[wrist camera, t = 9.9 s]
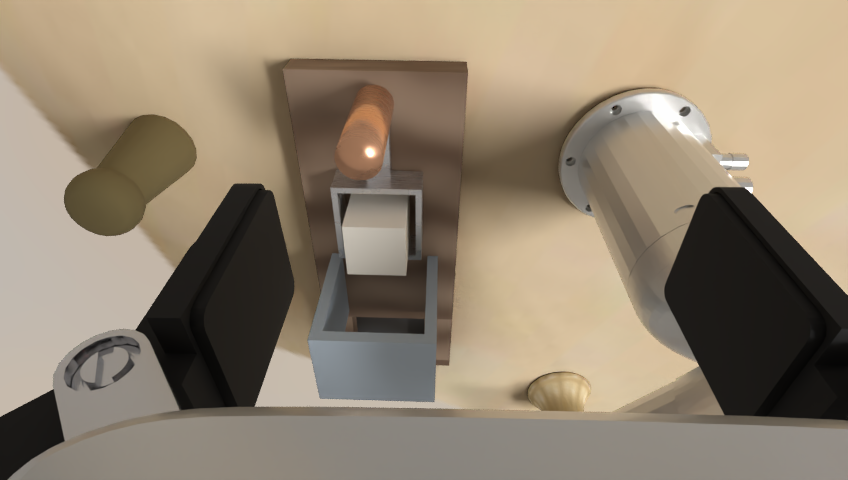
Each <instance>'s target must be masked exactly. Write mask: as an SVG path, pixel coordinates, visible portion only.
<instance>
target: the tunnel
mask: <svg viewBox="0 0 848 480" xmlns="http://www.w3.org/2000/svg"><path fill="white" fill-rule="evenodd" d="M437 271H438V256H427V282H426V308H425V334H403V333H369V332H345V329H346V324H347V319H348V314H349V304H348V295H347V287H346V279H345V271H344V263H343V258H339V254H337V253H332V256H331V259H330V263H329V266H328V270H327V273H326V277H325V280H324V284H323V287H322V291H321V295H320V298H319V302H318V305H317V309H316V312H315V316H314V319H313V323H312V326H311V330H310V333H309V337H308V345H309V350H310V354H311V359H312V364H313V368H314V373H315V377H316V383H317V387H318V392H319V397H320V398H322V399H353V400H385V401H416V402H434V400H435V373H436V346H437Z"/></svg>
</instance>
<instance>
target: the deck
mask: <svg viewBox="0 0 848 480" xmlns="http://www.w3.org/2000/svg"><path fill="white" fill-rule="evenodd" d="M283 75H284V81H285V86H286V92H287V98H288V104H289V110H290V116H291V121H292V127H293V133H294V139H295V145H296V151H297V156H298V162H299V168H300V174H301V180H302V186H303V192H304V197H305V203H306V209H307V215H308V221H309V227H310V232H311V238H312V244H313V250H314V256H315V262H316V267H317V273H318V279H319V285H320V291H322V287H323V284H324V280H325V277H326V273H327V270H328V266H329V263H330V259H331V256H332V253H337V254H339V251H338V243H337V236H336V228H335V220H334V212H333V205H332V197H331V189H330V187H331V184H332V181H333V179H334V176H335V173H336V170H337V169H338V167H337V166H336V163H335V159H334V154H335V150H336V147H337V145H338V142H339V139H340V137H341V134H342V131H343V129H344V126H345V123H346V121H347V118H348V115H349V113H350V110H351V107H352V105H353V102H354V99H355V97H356V94H357V93H358V91H359V90H360V89H361V88H363V87H364V86H367V85H379V86H382V87H384V88H385V89H387V90H388V91H389V92H390V94H391V95H392V97H393V100H394V110H393V115H392V120H391V125H390V145H391V171H423V235H422V257H421V260H408V261H407V272H406V276H396V275H359V274H347V266H346V258H343V263H344V271H345V279H346V287H347V295H348V304H349V314H348V319H347V324H346V329H345V332H369V333H403V334H425V308H426V282H427V256H438V271H437V346H436V365H449V359H450V343H451V327H452V312H453V296H454V281H455V265H456V249H457V234H458V218H459V203H460V187H461V171H462V156H463V140H464V125H465V109H466V94H467V78H468V70H467V62H440V61H385V60H331V59H290V60H289V62H288V63H287V64H286V66H285V67H284V68H283ZM350 196H351V194H350V193H345V197H346V206H347V207H348V203H349V199H350ZM409 196H410V235H416V195H409Z"/></svg>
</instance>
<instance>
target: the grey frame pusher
mask: <svg viewBox="0 0 848 480" xmlns="http://www.w3.org/2000/svg"><path fill="white" fill-rule="evenodd" d="M393 110H394V100H393V97H392V95H391V94H390V92H389V91H388V90H387V89H385V88H384V87H382V86H379V85H367V86H364V87H363V88H361V89H360V90H359V91H358V93H357V94H356V97H355V99H354V102H353V105H352V107H351V110H350V113H349V115H348V118H347V121H346V123H345V126H344V129H343V131H342V134H341V137H340V139H339V142H338V145H337V147H336V150H335V154H334V159H335V163H336V166H337V167H338V169H337V170H336V173H335V176H334V179H333V181H332V184H331V187H330V189H331V197H332V205H333V212H334V220H335V228H336V236H337V243H338V251H339V258H346V257H345V249H344V241H343V232H342V225H343V221H344V217H345V214H346V210H347V206H346V197H345V193H350V194H392V195H416V235H410V238H409V249H408V260H421V257H422V235H423V171H391V145H390V125H391V120H392V115H393Z"/></svg>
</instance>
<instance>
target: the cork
mask: <svg viewBox="0 0 848 480" xmlns="http://www.w3.org/2000/svg"><path fill="white" fill-rule="evenodd" d="M196 158H197V157H196V148H195V145H194V143H193V140H192V139H191V137H190V136H189V135H188V133H187V132H186V131H185V130H184V129H183V128H182V127H180V126H179V125H178V124H177V123H175V122H173V121H171V120H169V119H167V118H165V117H162V116H157V115H143V116H140V117H138V118H136V119H134V120H133V122H132V123H131V124H130V125H129V127H128V128H127V129H126V130H125V132H124V133H123V134H122V136H121V137H120V138H119V140H118V141H117V142H116V144H115V145H114V146H113V148H112V149H111V150H110V152H109V153H108V154H107V156H106V157H105V158H104V159H103V161H102V162H101V163H100V165H99V166H98V167H97V169H90V170H88V171H85V172H83V173H81V174H79V175H77V176H76V177H75V178H73V180H72V181H71V182H70V183H69V185H68V186H67V188H66V190H65V195H64V203H65V207H66V210H67V212H68V214H69V215H70V217H71V218H72V219H73V220H74V221H75V222H76V223H77V224H78V225H80V226H81V227H83V228H85V229H86V230H88V231H90V232H93V233H95V234H98V235H104V236H116V235H121V234H124V233H126V232H128V231H130V230H132V229H133V228H134V227H135V226H136V225H137V224H138V223H139V222H140V221H141V220H142V218H143V215H144V212H145V208H146V204H147V203H149V202H150V201H151V200H152V199H154V198H155V197H156V196H157V195H159V194H160V193H161V192H163V191H164V190H165V189H166V188H168V187H169V186H170V185H171V184H173V183H174V182H175V181H177V180H178V179H179V178H180V177H182V176H183V175H184V174H185V173H187V172H188V171H189V170H190V169H191V168H192V167H193V166H194V164H195V161H196Z"/></svg>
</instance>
